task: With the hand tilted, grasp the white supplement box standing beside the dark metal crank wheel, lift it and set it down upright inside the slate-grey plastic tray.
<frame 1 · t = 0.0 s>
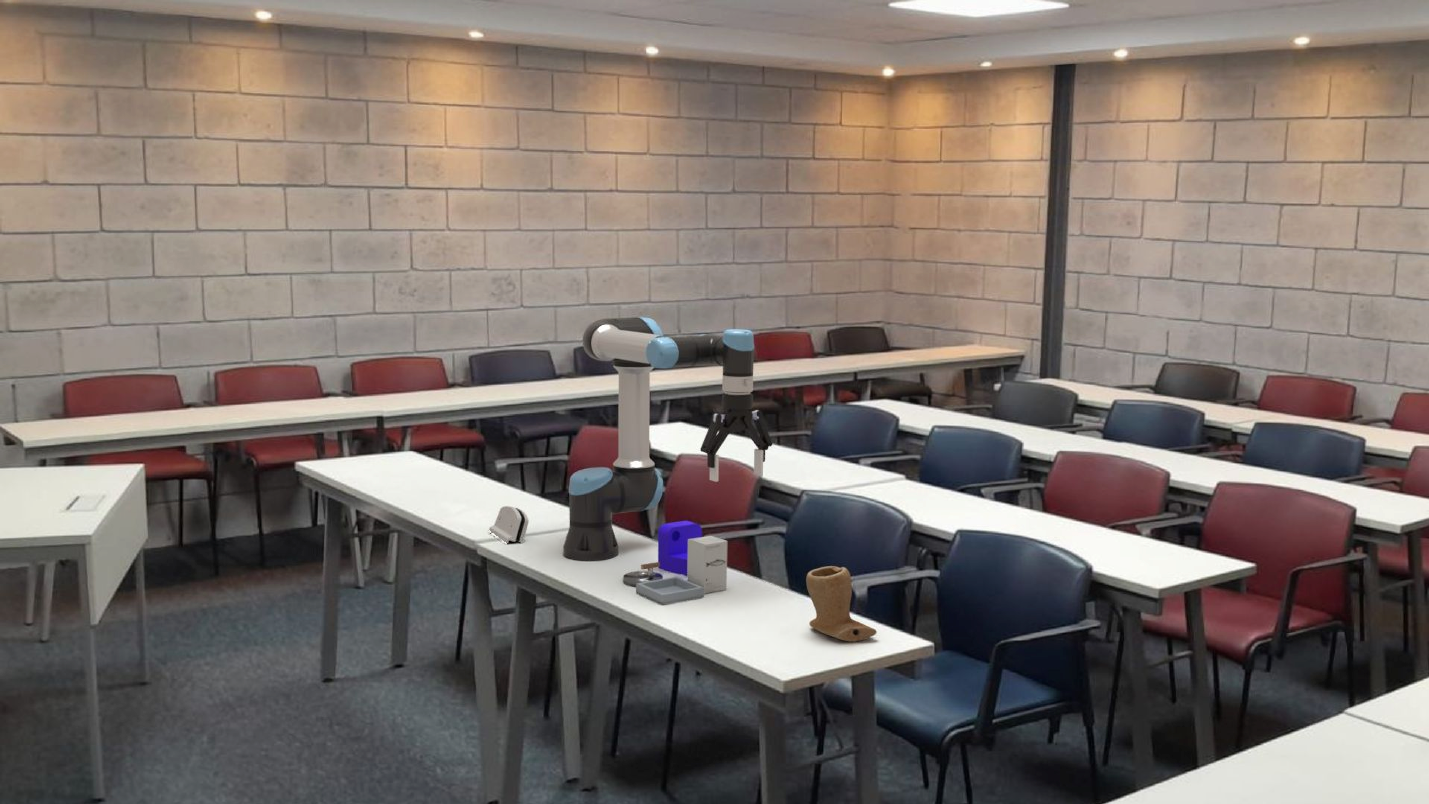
hand: (736, 478, 318), 28 cm above the table, tool pointing down, fingers open, 13 cm apart
supplement box: (706, 589, 321), on the table
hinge: (509, 538, 373), on the table
tray: (669, 595, 315), on the table
bracket: (694, 573, 337), on the table
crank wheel: (643, 582, 327), on the table
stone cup: (836, 635, 285), on the table
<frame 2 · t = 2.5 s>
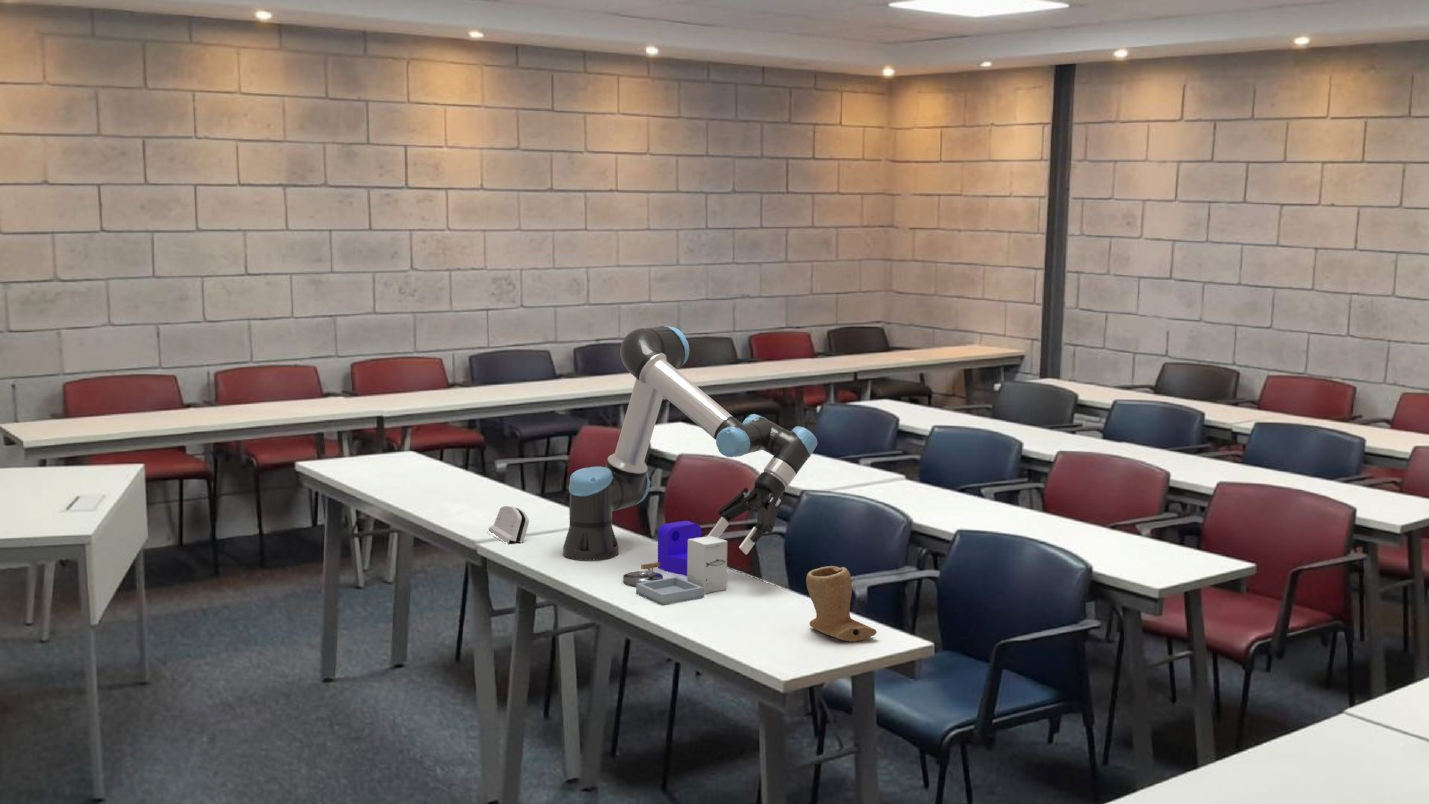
hand: (726, 545, 322), 11 cm above the table, tool tilted 45°, fingers open, 13 cm apart
nothing on the table moved.
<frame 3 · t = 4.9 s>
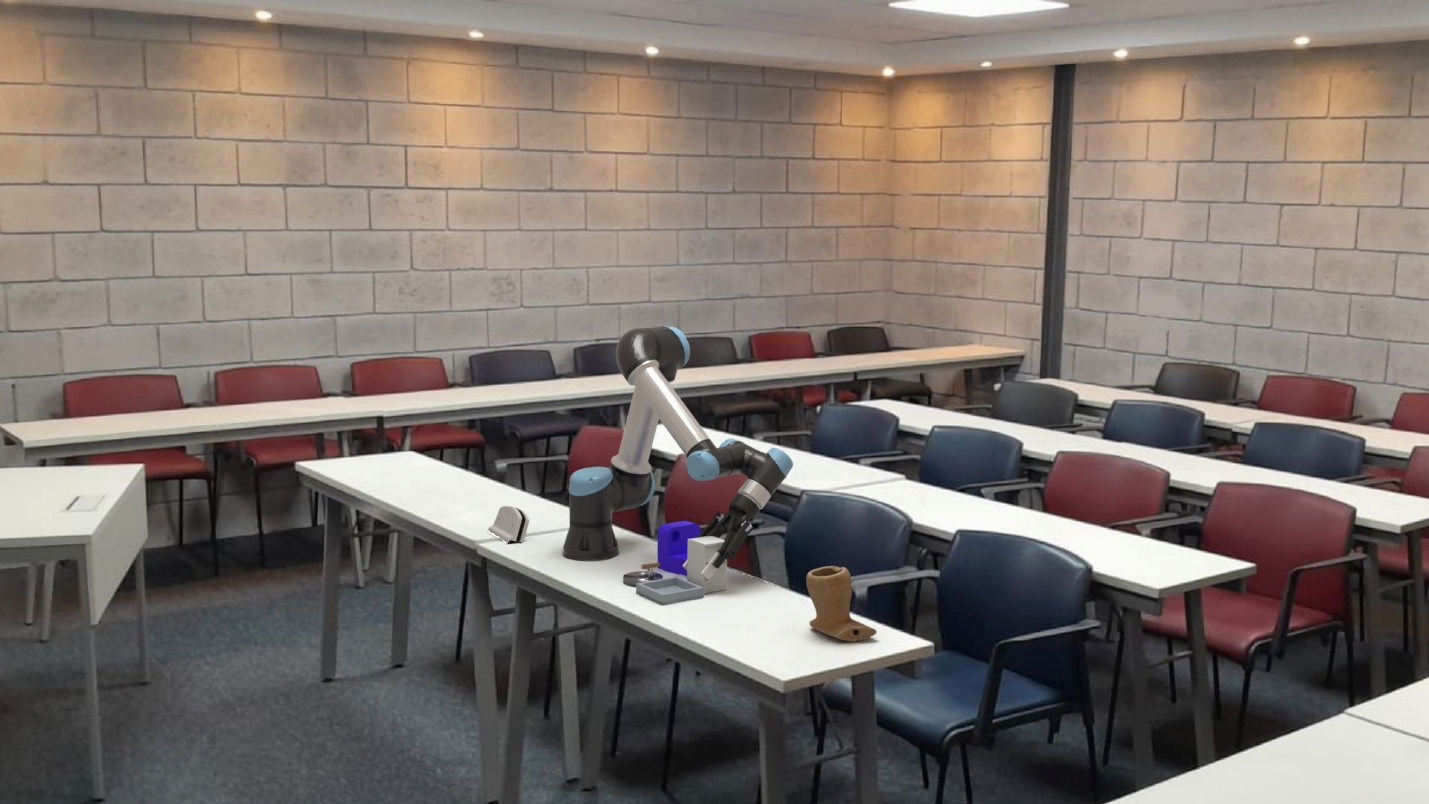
hand: (695, 572, 318), 5 cm above the table, tool tilted 45°, fingers closed on supplement box, 7 cm apart
supplement box: (706, 589, 321), on the table, touching gripper
everything else where it was.
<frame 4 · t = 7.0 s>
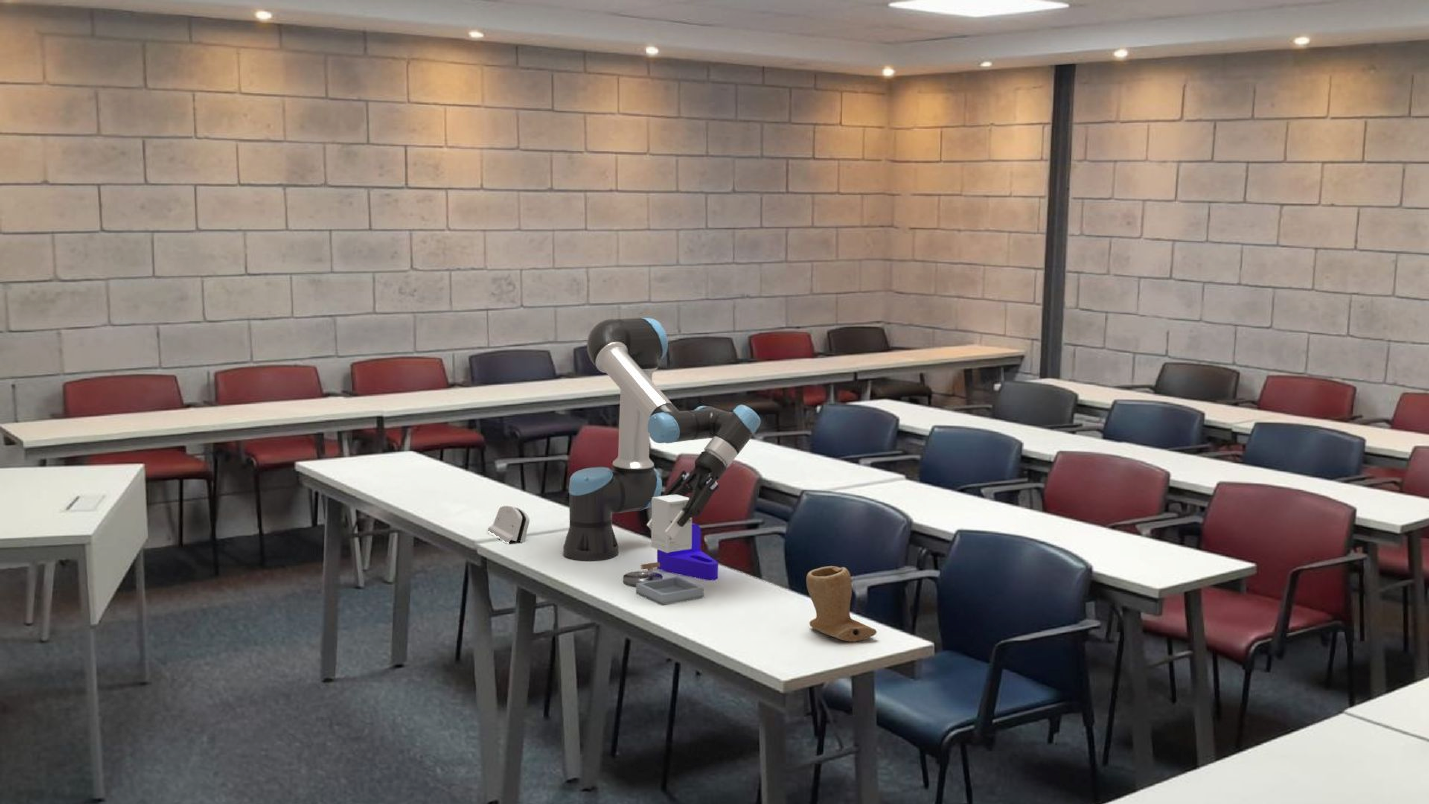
hand: (659, 531, 311), 16 cm above the table, tool tilted 45°, fingers closed on supplement box, 7 cm apart
supplement box: (671, 549, 313), point 12 cm above the table, touching gripper
everything else where it was.
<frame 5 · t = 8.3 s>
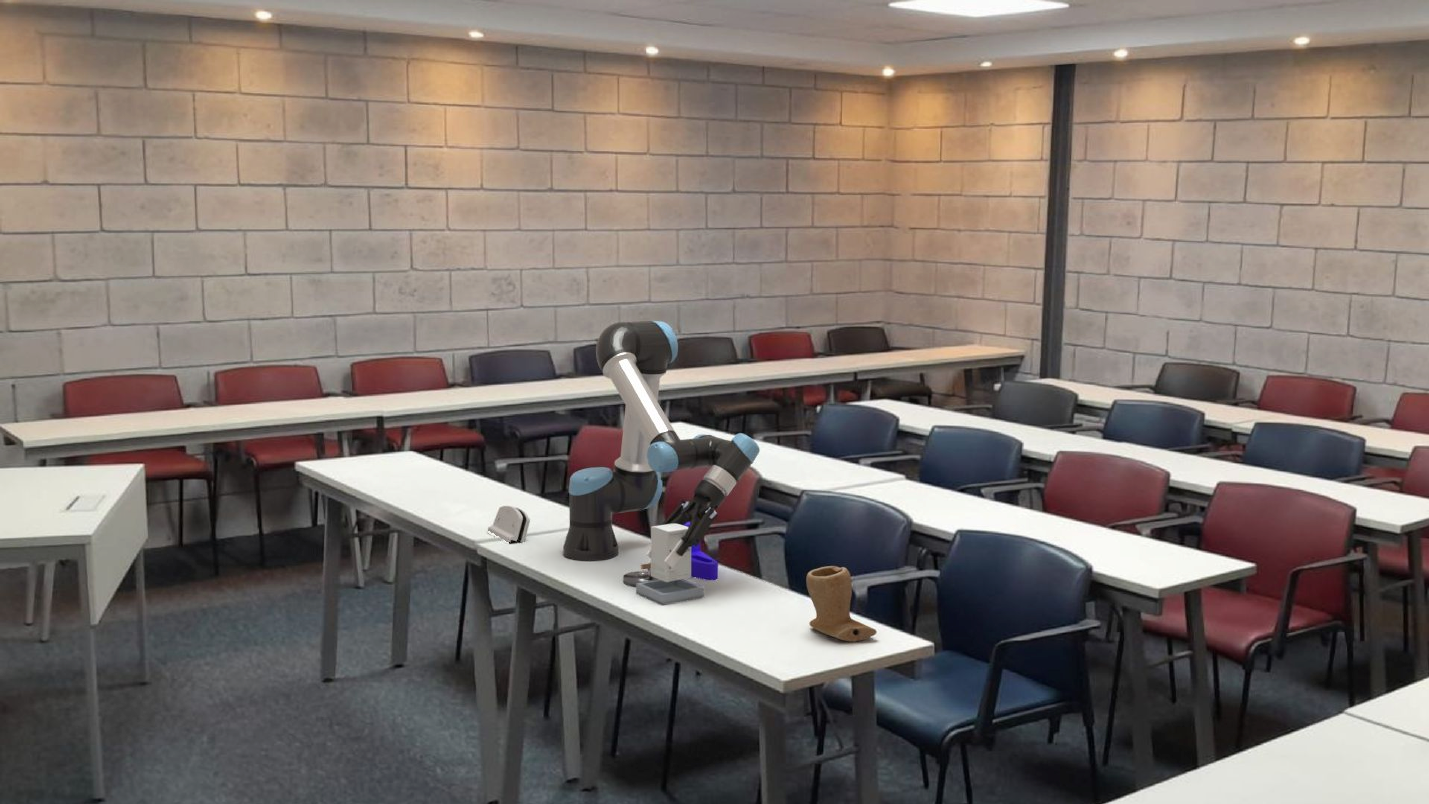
hand: (659, 561, 311), 9 cm above the table, tool tilted 45°, fingers closed on supplement box, 7 cm apart
supplement box: (671, 578, 314), point 4 cm above the table, touching gripper
everything else where it was.
when the fingers open (6 cm above the table, at t = 9.2 s): supplement box drops 1 cm, resting on tray.
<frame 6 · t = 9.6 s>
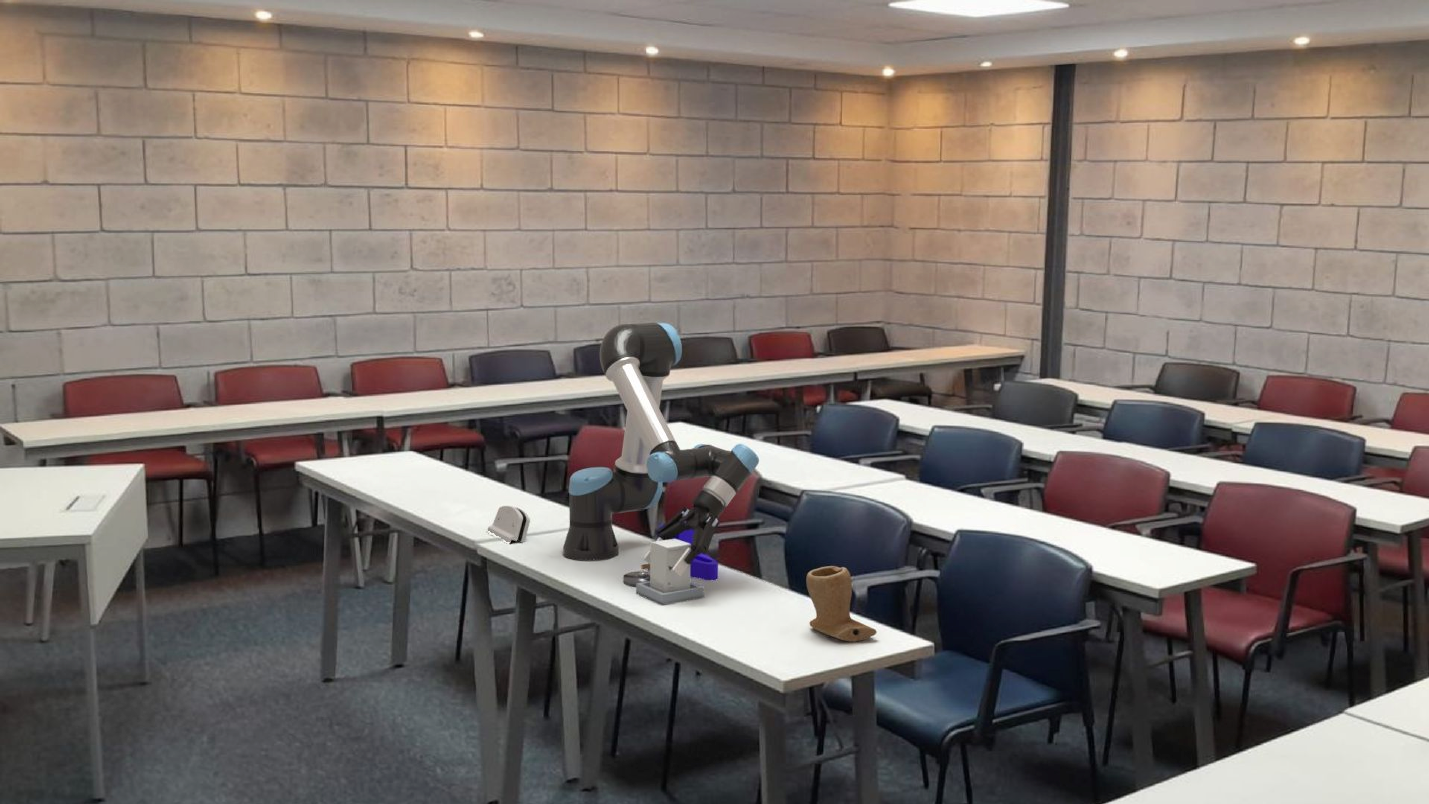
hand: (661, 567, 312), 7 cm above the table, tool tilted 45°, fingers open, 12 cm apart
supplement box: (670, 593, 315), resting on tray
everything else where it was.
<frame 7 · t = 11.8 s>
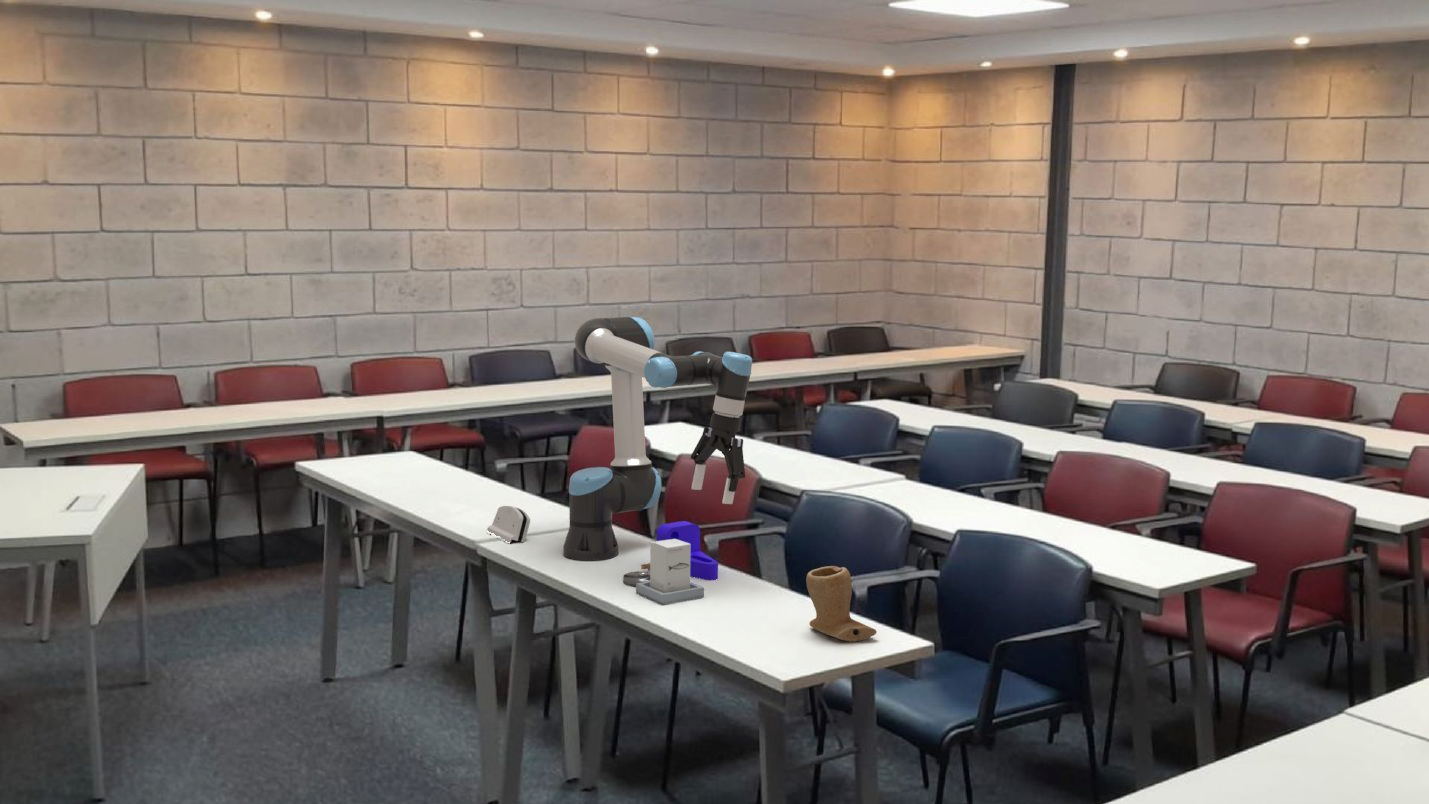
hand: (711, 496, 325), 22 cm above the table, tool pointing down, fingers open, 13 cm apart
nothing on the table moved.
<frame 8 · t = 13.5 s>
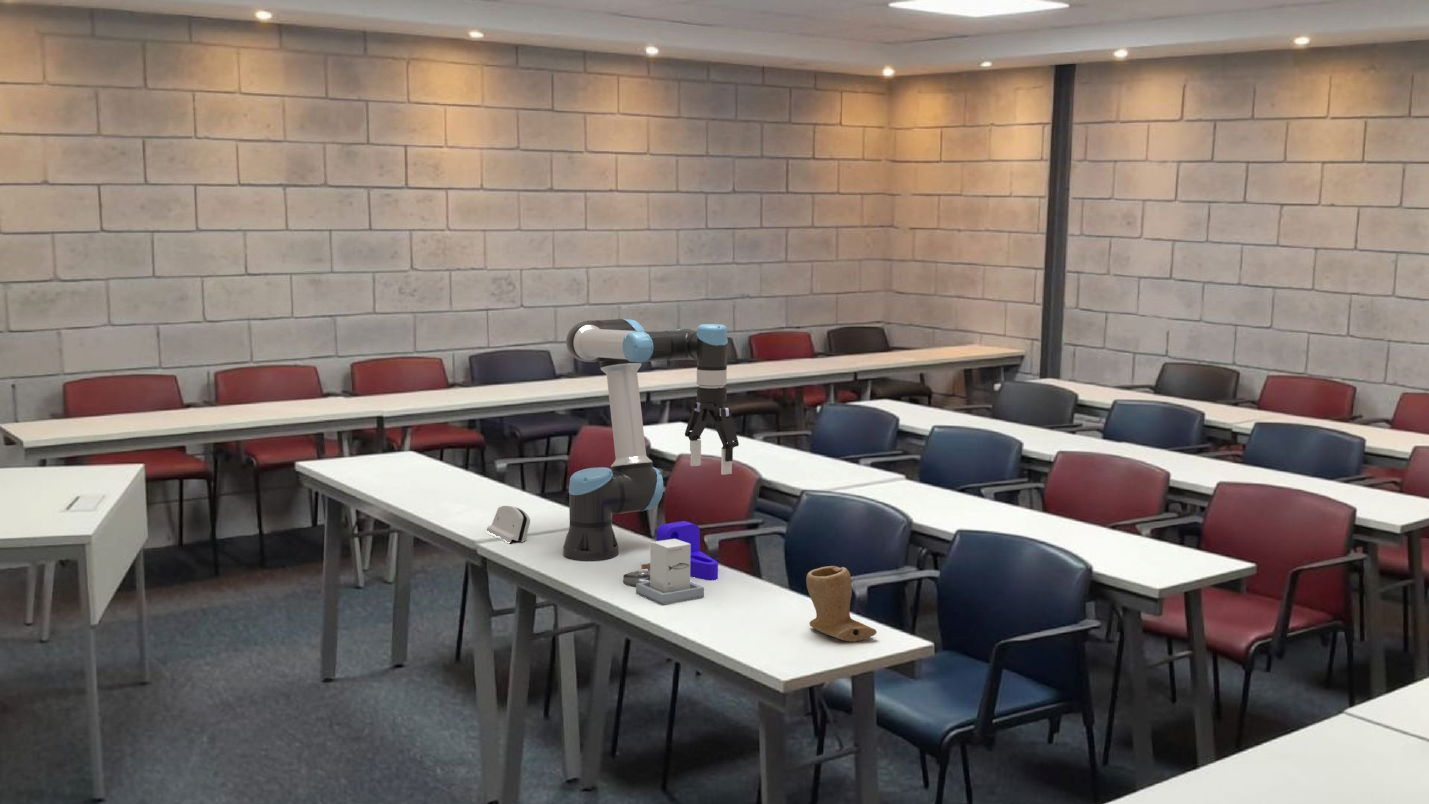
hand: (710, 469, 325), 29 cm above the table, tool pointing down, fingers open, 13 cm apart
nothing on the table moved.
at the end: supplement box inside the target area on the tray (0.1 cm from its centre), point 0.4 cm above the tray's base; supplement box tilted 0°; the gripper is holding nothing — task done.
